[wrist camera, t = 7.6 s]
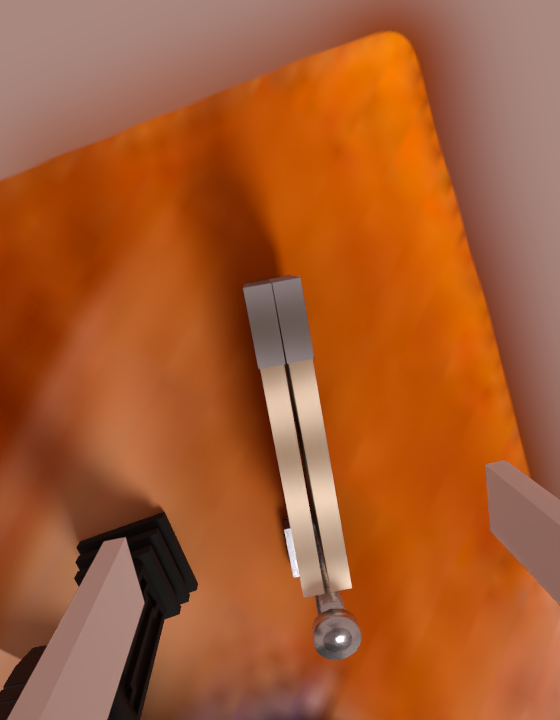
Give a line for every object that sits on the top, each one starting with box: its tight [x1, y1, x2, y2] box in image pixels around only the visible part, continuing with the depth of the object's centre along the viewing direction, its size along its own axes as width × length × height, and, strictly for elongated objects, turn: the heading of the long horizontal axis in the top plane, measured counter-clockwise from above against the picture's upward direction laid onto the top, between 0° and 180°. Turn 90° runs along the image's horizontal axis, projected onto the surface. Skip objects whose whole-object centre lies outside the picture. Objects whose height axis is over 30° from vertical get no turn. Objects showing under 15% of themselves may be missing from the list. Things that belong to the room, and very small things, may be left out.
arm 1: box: [267, 275, 352, 592], centre depth 31 cm, size 22×2×7 cm, turn 11°
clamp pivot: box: [283, 514, 361, 660], centre depth 34 cm, size 5×5×11 cm
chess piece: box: [74, 512, 198, 720], centre depth 29 cm, size 8×8×20 cm
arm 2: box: [243, 280, 325, 598], centre depth 31 cm, size 22×2×7 cm, turn 10°
